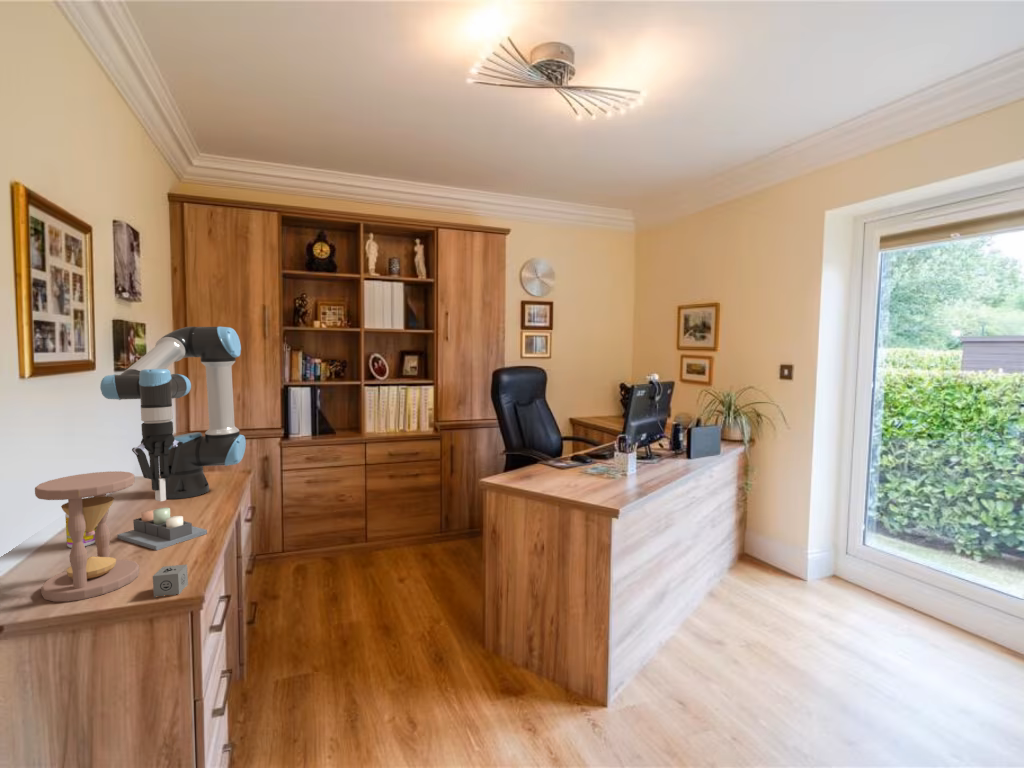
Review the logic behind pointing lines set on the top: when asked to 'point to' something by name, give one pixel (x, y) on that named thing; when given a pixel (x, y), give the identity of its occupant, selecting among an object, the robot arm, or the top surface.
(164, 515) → the pale green rounded piece
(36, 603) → the top surface
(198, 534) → the panel
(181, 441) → the robot arm
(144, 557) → the top surface
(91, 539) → the supplement bottle
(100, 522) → the hourglass
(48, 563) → the top surface
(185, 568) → the dice cube
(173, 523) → the cream button
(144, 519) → the pink rounded piece
